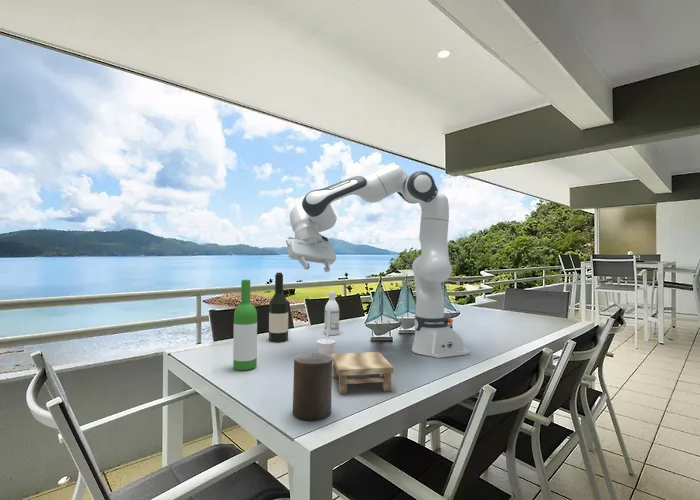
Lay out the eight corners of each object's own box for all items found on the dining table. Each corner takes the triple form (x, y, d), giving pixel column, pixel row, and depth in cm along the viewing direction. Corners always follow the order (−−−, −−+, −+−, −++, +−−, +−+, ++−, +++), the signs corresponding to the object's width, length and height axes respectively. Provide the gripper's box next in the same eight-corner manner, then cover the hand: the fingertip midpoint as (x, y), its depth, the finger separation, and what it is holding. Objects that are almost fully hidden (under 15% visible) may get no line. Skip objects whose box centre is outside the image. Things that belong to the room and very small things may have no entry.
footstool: (378, 372, 123) (379, 351, 123) (393, 391, 108) (393, 367, 107) (330, 375, 120) (331, 353, 120) (338, 394, 105) (338, 370, 105)
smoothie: (332, 373, 122) (333, 331, 122) (313, 371, 124) (314, 329, 123) (337, 367, 129) (337, 326, 128) (319, 365, 130) (319, 325, 130)
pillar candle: (310, 425, 87) (312, 360, 87) (284, 412, 93) (286, 352, 93) (339, 412, 94) (340, 352, 94) (313, 401, 100) (314, 345, 100)
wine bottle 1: (257, 363, 132) (258, 278, 131) (255, 370, 124) (256, 281, 124) (234, 364, 130) (235, 279, 130) (231, 371, 123) (232, 281, 122)
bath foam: (341, 333, 179) (342, 291, 179) (334, 336, 173) (335, 293, 173) (329, 331, 182) (329, 291, 182) (321, 334, 176) (322, 292, 176)
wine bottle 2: (278, 337, 170) (279, 271, 170) (291, 340, 165) (292, 272, 165) (264, 340, 163) (265, 272, 163) (278, 343, 159) (278, 273, 158)
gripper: (289, 231, 135) (298, 261, 128) (332, 239, 149) (343, 267, 141) (280, 241, 139) (289, 272, 132) (324, 249, 152) (333, 277, 145)
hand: (317, 269), depth 137 cm, fingers open, 8 cm apart
